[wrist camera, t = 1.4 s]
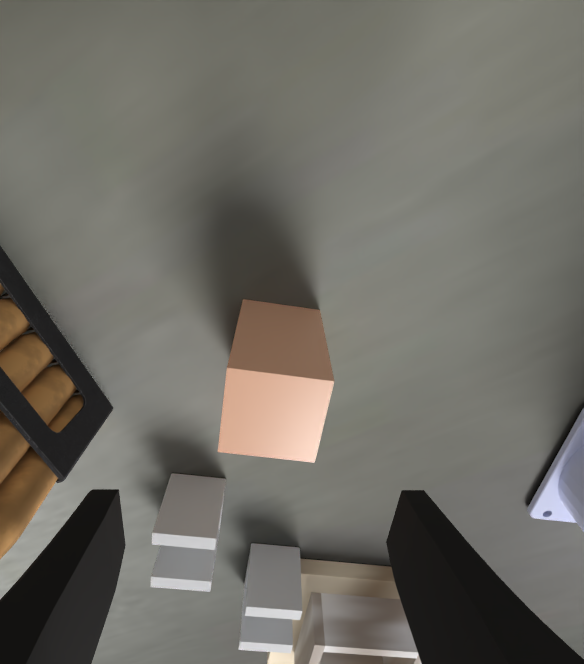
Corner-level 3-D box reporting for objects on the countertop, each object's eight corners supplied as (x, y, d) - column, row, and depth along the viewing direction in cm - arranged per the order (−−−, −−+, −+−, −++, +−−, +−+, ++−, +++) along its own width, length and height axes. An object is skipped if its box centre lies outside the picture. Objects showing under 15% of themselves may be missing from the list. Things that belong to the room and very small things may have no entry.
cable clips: (314, 488, 24) (320, 548, 20) (289, 588, 28) (290, 653, 24) (171, 473, 23) (152, 532, 20) (166, 578, 27) (149, 643, 24)
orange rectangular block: (319, 309, 19) (334, 381, 14) (306, 375, 21) (314, 462, 15) (243, 299, 19) (226, 367, 13) (235, 365, 20) (217, 452, 15)
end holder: (442, 571, 27) (466, 638, 24) (400, 658, 32) (415, 726, 28) (289, 557, 26) (290, 625, 23) (267, 648, 31) (265, 718, 27)
